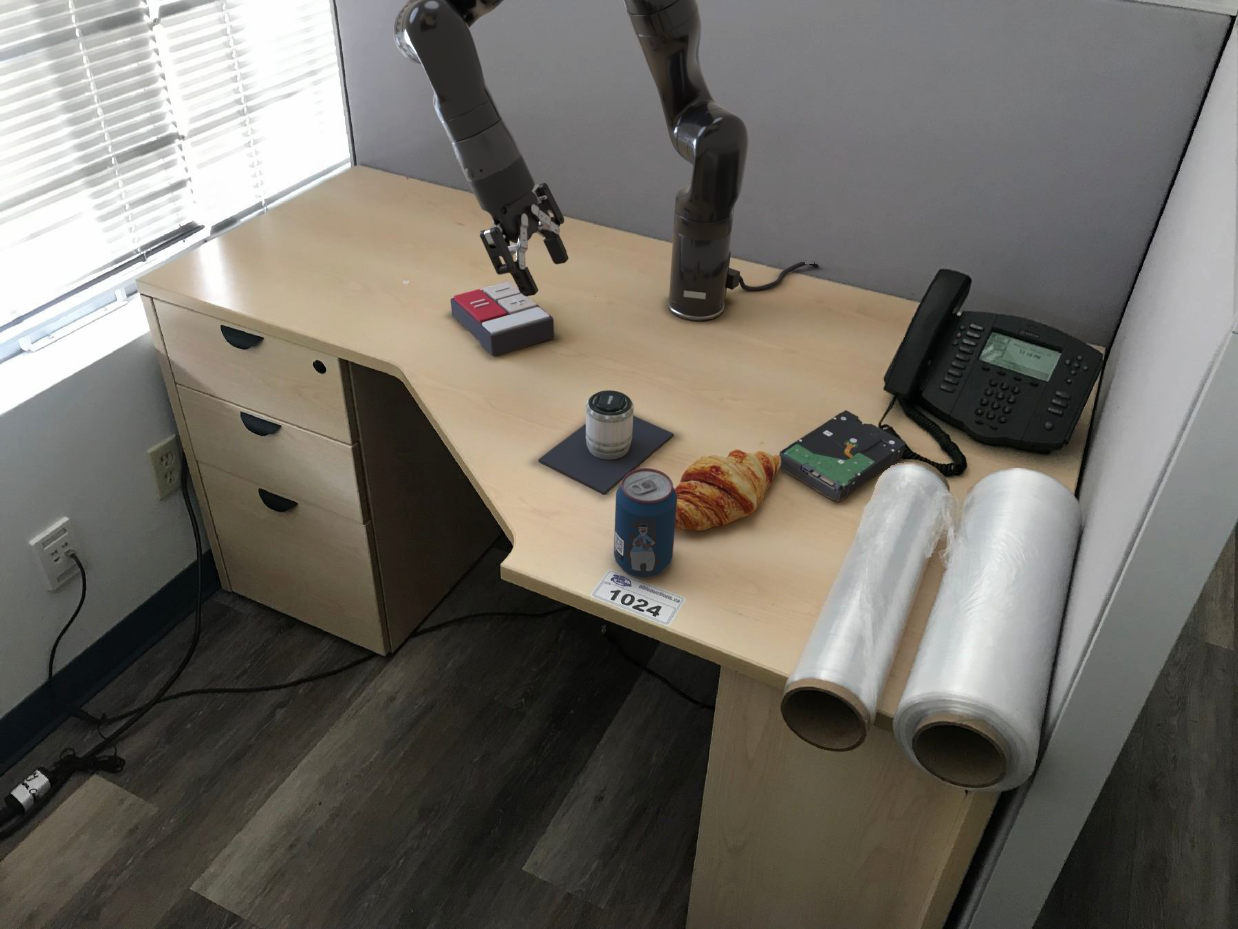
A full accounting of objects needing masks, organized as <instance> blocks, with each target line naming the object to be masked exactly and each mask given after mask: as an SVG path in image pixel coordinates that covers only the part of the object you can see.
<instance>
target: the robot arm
mask: <svg viewBox="0 0 1238 929" xmlns="http://www.w3.org/2000/svg"><path fill="white" fill-rule="evenodd" d="M504 1H505V0H408V1H407V2H406V3H405V4H404V5H403V6H402V7H401V8H400V10H399V11H398V12H397V14H396V17H395V19H394V21H393V29H392V31H393V32H392V33H393V40H394V43H395V46H396V47H397V49H398V51H399V52H400V53H401V54H402V55H403V57H405V58H406V59H407V60H409V61H410V62H413V63H414V64H417V65H421V66H422V68H423V70H424V73H425V75H426V77H427V79H428V81H429V84H430V86H431V88H432V90H433V97H432V105H433V107H434V110H435V113H436V116H437V117H438V120H439V121H440V123H441V126H442V128H443V130H444V132H445V134H446V136H447V138H448V140H449V141H450V145H451V147H452V149H453V153H454V155H455V157H456V160H457V162H458V164H459V167H460V169H461V171H462V172H463V174H464V177H465V179H466V181H467V183H468V185H469V187H470V190H471V191H472V193H473V195H474V197H475V199H476V201H477V203H478V205H479V208H481V210H482V211H484V212H486V213H488V214H489V215H490V217H491V220H492V226H490V227H489V228H486V229H481V230H480V232H479V237H480V239H481V242H482V244H483V247H484V248H485V250H486V253H487V255H488V258H489V259H490V262H491V264H492V266H493V269H494V270H495V273H496V274H497V276H498V275H500V276H501V275H505V274H510V275H511V277H512V279H513V281H514V283H515V285H516V288H517V289H519V291H520V292H521V294H523V295H524V296H527V297H531V296H536V295H537V293H538V292H539V288H538V285H537V283H536V282H535V279H534V277H533V276H532V273H531V271H530V269H529V267H528V266H527V262H526V252H527V251H528V249H529V243H528V242H529V241H530V240H531V238H532V236H533V235H534V234H537V235H539V236H540V237H542V238H544V239H543V240H542V242H543V244H544V246H545V248H546V250H547V252H548V254H549V256H550V259H551V261H552V263H553V264H554V265H561V264H566V263H567V262H568V260H569V258H570V257H569V255H568V251H567V249H566V247H565V244H564V242H563V241H562V240H563V239H562V238H561V235H560V233H561V229H560V226H561V225H563V224H564V223H565V217H564V215H563V212H562V211H561V209H560V207H559V205H558V203H557V201H556V199H555V197H554V195H553V193H552V191H551V189H550V187H549V184H548V183H547V182H542V183H538V184H536V183H535V180H534V178H533V176H532V173H531V172H530V169H529V167H528V165H527V163H526V161H525V158H524V156H523V154H522V152H521V150H520V147H519V145H518V143H517V141H516V138H515V137H514V135H513V133H512V131H511V129H510V128H509V126H508V124H507V123H506V121H505V119H504V117H503V116H502V114H501V111H500V109H499V107H498V104H497V102H496V101H495V98H494V96H493V94H492V91H491V90H490V88H489V86H488V85H487V83H486V78H485V76H484V72H483V67H482V63H481V60H480V57H479V53H478V50H477V47H476V43H475V40H474V37H473V34H472V32H471V30H470V28H471V27H472V26H473V25H474V24H475V22H476V21H478V20H479V19H480V18H482V17H483V16H484V15H488V14H489V13H491V12H492V11H494V10H495V9H496V8H498V7H499V6H500V5H501V4H502V3H503V2H504ZM622 2H623V5H624V9H625V11H626V13H627V16H628V19H629V22H630V24H631V27H632V29H633V32H634V35H635V37H636V39H637V41H638V44H639V46H640V49H641V52H642V54H643V58H644V59H645V62H646V65H647V68H648V70H649V72H650V74H651V77H652V79H653V82H654V84H655V87H656V90H657V92H658V96H659V99H660V100H659V101H660V104H661V107H662V113H663V116H664V120H665V125H666V128H667V132H668V136H669V140H670V141H671V144H672V147H673V148H674V150H675V151H676V153H677V154H678V156H680V157H681V158H683V159H684V160H685V161H687V162H688V163H690V164H691V165H692V172H691V178H690V183H687V184H685V185H682V186H681V187H680V188H678V190H677V192H676V193H675V200H674V202H675V203H674V214H673V215H674V216H673V230H672V231H673V232H672V248H671V263H670V276H669V290H668V300H667V308H668V310H669V311H670V313H672V314H673V315H675V316H677V317H679V318H682V319H685V320H690V321H708V320H713V319H715V318H717V317H719V316H721V315H722V314H723V313H724V311H725V305H726V304H725V303H726V301H727V292H728V290H731V291H733V290H735V289H736V288H737V287H739V286H740V288H741V289H742V290H745V291H748V292H761V291H765V290H769V289H771V288H774V287H776V286H778V285H780V284H781V282H782V281H783V279H784V277H785V276H786V275H787V274H789V273H791V272H793V271H795V270H796V269H799V268H802V267H805V266H806V265H805V262H802V261H799V262H797V263H794V264H793V265H791V266H788V267H787V268H784V269H783V270H782V271H781V272H780V273H779V275H778V277H777V279H775V280H774V281H772V282H769V283H766V284H763V285H759V286H751V285H747V284H746V283H745V280H744V278H743V276H742V275H741V271H740V270H737V269H734V268H732V267H730V265H731V264H730V263H731V254H732V252H731V243H732V233H733V232H732V231H733V224H734V223H733V221H734V212H735V205H736V203H737V201H738V199H739V198H740V195H741V192H742V188H743V184H744V183H743V182H744V178H745V171H746V164H747V158H748V151H749V132H748V128H747V125H746V123H745V121H744V120H743V119H742V118H741V117H740V116H739V115H737V114H736V113H734V112H732V111H731V110H729V109H727V108H726V107H724V106H722V105H720V104H718V103H717V101H716V100H715V99H714V97H713V95H712V93H711V92H710V89H709V86H708V84H707V82H706V79H705V76H704V73H703V71H702V67H701V63H700V55H699V54H700V44H701V37H702V36H701V35H702V18H701V12H700V7H699V4H698V0H622ZM549 211H550V212H551V213H552V216H551V214H550V213H549ZM511 243H512V245H511ZM514 255H515V256H516V258H515V259H516V260H515V259H514ZM501 258H502V259H503V262H504V263H503V262H502V260H501ZM808 266H812V267H813V268H815V269H818V268H820V265H819V264H818V263H817V264H815V263H814V264H809V265H808Z"/></svg>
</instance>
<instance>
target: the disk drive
mask: <svg viewBox="0 0 1238 929" xmlns="http://www.w3.org/2000/svg"><path fill="white" fill-rule="evenodd" d="M906 444H907V443H906V441H904V440H902V439H901V438H899V437H897V436H895V435H893V434H891V433H889V432H887V431H885V430H884V429H882V428H880V427H878V426H877V425H875V424H873V423H863V421H861V419H860V418H859V416H858V415H857V414H854V413H852V412H850V411H848V410H847V409H845V410H843V411H842V412H839V413H838V414H836V415H835V416H833V417H831V418H830V419H828V420H827V421H826V422H824V423H823V424H821V425H819V426H817V427H816V428H815V429H813V430H812V431H810V432H809V433H807V434H804V436H802V437H800V438H799V439H797V440H796V441H794V442H792V443H791V444H789V445H788V446H786V447H785V448H783V449H782V450H780V451H779V453H778V455H779V456H780V457H781V466H780V468H781V469H782V470H783V471H785V472H786V473H787V474H789V475H791V476H793V477H794V478H796V479H798V480H799V481H801V482H802V483H803V484H806V485H807V486H809V487H811V489H814V490H815V491H817V492H819V493H820V494H822V495H824V496H825V497H827V498H828V499H830V500H833V501H835V502H841V501H842V500H844V499H845V498H846V497H848V496H849V495H851V494H852V493H853V492H855V491H857V490H858V489H859V488H860V487H862V486H863V485H865V484H866V483H867V482H869V481H870V480H872V479H873V478H874V477H876V476H877V475H879V474H880V473H881V472H883V471H885V470H886V469H887V468H888V467H890V466H891V465H892V464H894V463H895V462H896V461H898V460H899V459H901V458H902V457H903V455H904V452H905V449H906Z"/></svg>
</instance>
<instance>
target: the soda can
mask: <svg viewBox="0 0 1238 929" xmlns="http://www.w3.org/2000/svg"><path fill="white" fill-rule="evenodd" d="M676 508H677V493H676V491H675V487H674V484H673V481H672V479H671V477H670V476H669V475H668V474H666V473H665V472H663V471H661V470H658V469H655V468H648V467H643V468H635V469H634V470H633V471H631V472H629V473H628V474H627V475H625V477H624V478H623V479H622V480H621V483H620V485H619V486H618V488H617V489H616V492H615V509H614V534H613V535H614V539H613V557H614V560H615V562H616V564H617V565H618V566H619V568H620V569H621V570H622V571H623V572H624V573H625V574H627V575H629V576H630V577H633V578H637V579H651V578H655V577H657V576H659V575H660V574H661V573H662V572H664V571H665V570H666V569H667V568H668V567H669V565H671V562H672V561H673V556H674V546H675V545H674V544H675V533H676V532H675V531H676V530H675V520H676Z"/></svg>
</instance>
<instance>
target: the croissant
mask: <svg viewBox="0 0 1238 929" xmlns="http://www.w3.org/2000/svg"><path fill="white" fill-rule="evenodd" d="M780 466H781V457H780V456H779V454H775V455H773V454H770V453H768V452H765V451H761V450H760V451H759V450H758V451H756V452H755V453H751V452H750V453H748V452H746V451H742V450H740V449H737V448H736V449H733V450H730V452H728V455H727V456H726V457H722V456H719V455H707V456H703V455H702V456H700V458H698V459H696V460H695V461H694V462H693V463H692V464H690V465H689V466H688V467H687V468H686V469H685V470H684V471H683V473H682V476H681V478H680V481H679V484H677V485H676V487H674V489H675V491H676V493H677V508H676V520H675V531H676V530H689V531H697V532H701V531H705V530H707V529H710V528H714V527H724V526H726V525H728V524H731V523H733V522H735V521H736V520H738V519H741V518H743V517H744V518H745V517H747V516H748V515H751V514H753V513H755V511H757V509H758V507H759V506H760V505H761V504H762V502H763V501H764V499H765V493H766V491H767V490H768V489H769V488H770V486H771V485H772V483H773V479H774V478H775V476H777V473H778V471H779V470H780V468H781V467H780Z"/></svg>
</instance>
